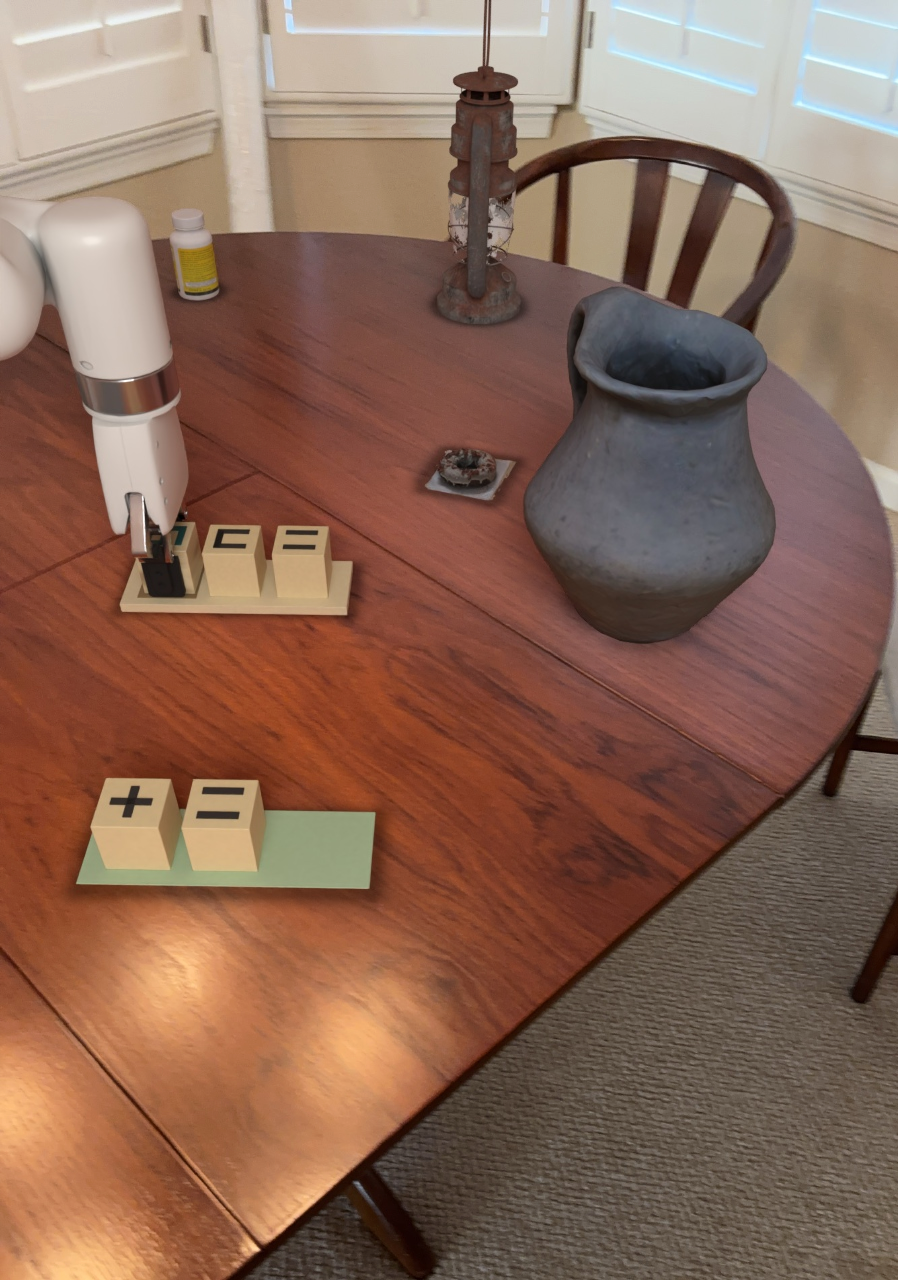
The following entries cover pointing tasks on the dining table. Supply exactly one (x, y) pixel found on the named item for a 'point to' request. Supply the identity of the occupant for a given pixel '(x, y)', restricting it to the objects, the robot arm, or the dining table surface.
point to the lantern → (482, 196)
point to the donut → (470, 473)
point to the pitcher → (653, 468)
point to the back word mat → (258, 576)
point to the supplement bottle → (193, 255)
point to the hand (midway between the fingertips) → (173, 575)
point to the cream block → (182, 554)
